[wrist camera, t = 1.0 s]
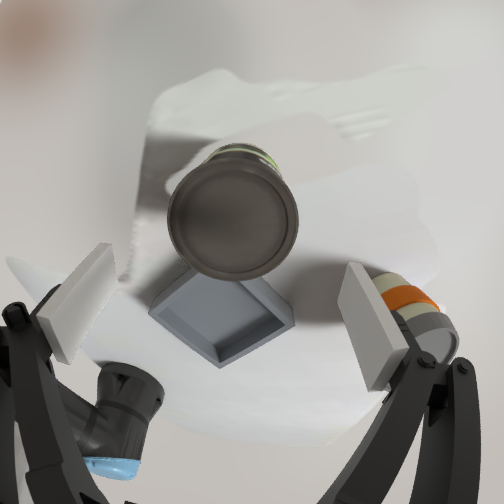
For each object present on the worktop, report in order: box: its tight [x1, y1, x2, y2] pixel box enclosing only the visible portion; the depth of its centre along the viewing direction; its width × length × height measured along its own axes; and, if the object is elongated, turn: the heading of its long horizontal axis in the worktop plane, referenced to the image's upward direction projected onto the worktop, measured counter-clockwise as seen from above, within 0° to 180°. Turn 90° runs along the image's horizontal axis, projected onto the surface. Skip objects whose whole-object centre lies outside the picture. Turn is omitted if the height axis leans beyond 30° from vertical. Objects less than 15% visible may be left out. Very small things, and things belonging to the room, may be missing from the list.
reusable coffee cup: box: [372, 273, 459, 392], centre depth 36 cm, size 12×13×15 cm
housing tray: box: [148, 267, 295, 369], centre depth 41 cm, size 15×15×4 cm
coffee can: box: [167, 143, 299, 282], centre depth 28 cm, size 10×10×14 cm
